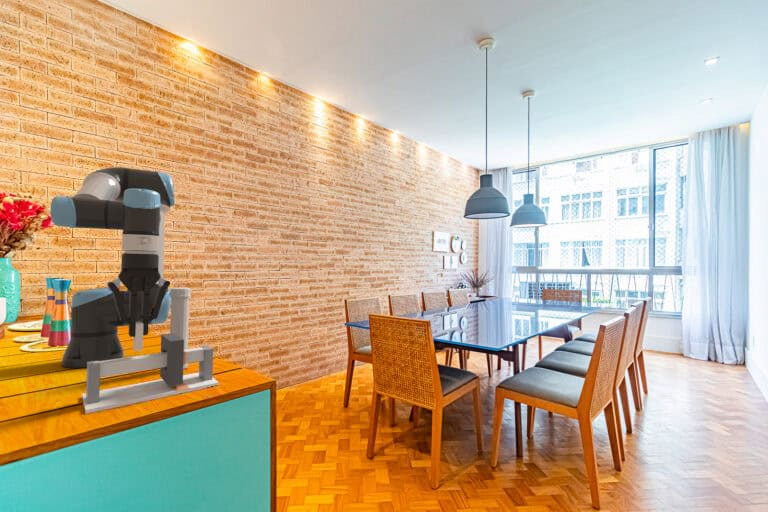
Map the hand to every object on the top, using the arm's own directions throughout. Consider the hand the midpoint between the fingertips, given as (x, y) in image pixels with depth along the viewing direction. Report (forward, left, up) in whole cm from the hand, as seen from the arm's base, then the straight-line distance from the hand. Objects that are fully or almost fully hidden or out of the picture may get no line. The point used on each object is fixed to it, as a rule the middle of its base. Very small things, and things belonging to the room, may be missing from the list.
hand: (137, 349), depth 87 cm
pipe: (-17, +13, -11) cm, 24 cm away
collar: (0, +7, -9) cm, 12 cm away
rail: (0, +4, -11) cm, 11 cm away
